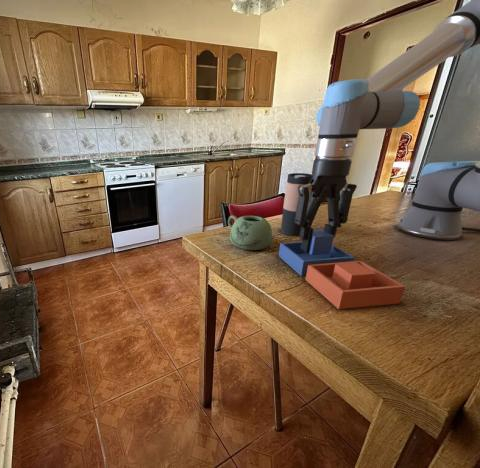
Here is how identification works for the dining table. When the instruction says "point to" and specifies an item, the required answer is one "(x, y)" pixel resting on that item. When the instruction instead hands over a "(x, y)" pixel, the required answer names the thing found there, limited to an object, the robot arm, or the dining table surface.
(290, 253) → the blue bin
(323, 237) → the blue block
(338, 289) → the terracotta bin
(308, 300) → the dining table surface
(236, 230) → the mug
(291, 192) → the travel mug
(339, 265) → the terracotta block
